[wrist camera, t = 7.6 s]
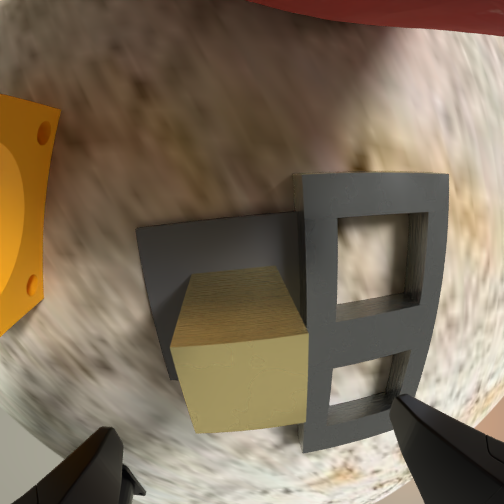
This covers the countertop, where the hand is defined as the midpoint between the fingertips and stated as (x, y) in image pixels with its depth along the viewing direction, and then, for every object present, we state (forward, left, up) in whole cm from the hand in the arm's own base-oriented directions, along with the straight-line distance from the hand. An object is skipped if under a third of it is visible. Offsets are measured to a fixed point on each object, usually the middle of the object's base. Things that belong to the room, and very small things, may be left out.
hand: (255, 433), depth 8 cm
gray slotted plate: (-3, -8, -10) cm, 13 cm away
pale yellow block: (0, 0, -9) cm, 9 cm away
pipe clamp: (+7, +13, -10) cm, 18 cm away
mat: (0, 0, -10) cm, 10 cm away
